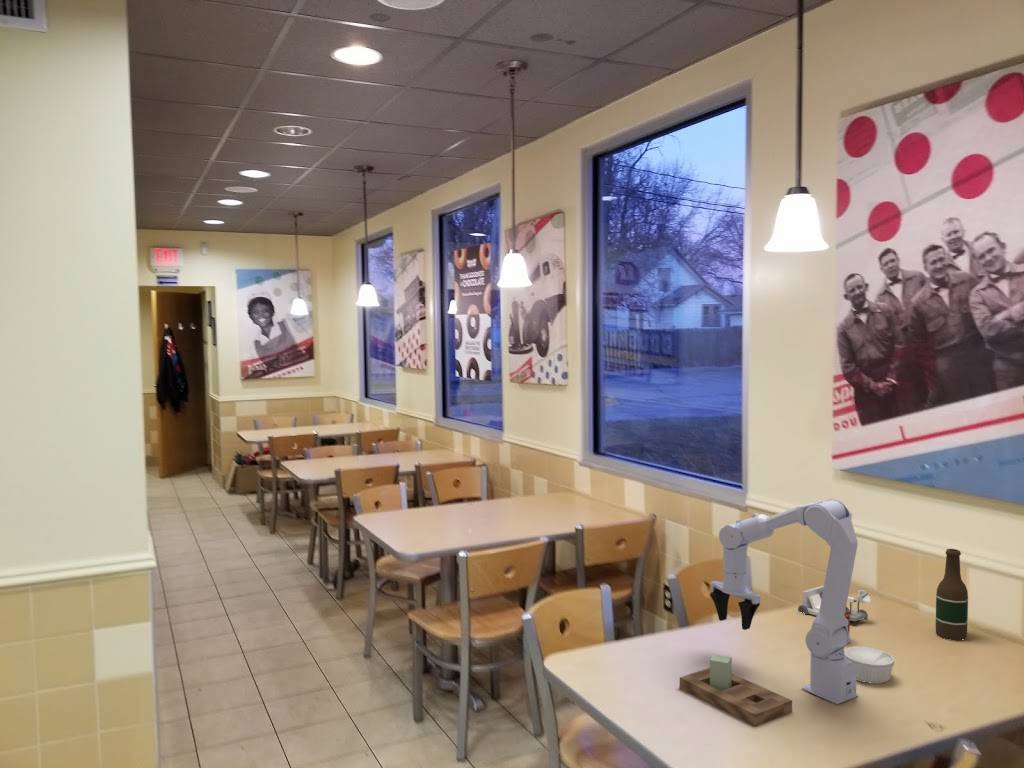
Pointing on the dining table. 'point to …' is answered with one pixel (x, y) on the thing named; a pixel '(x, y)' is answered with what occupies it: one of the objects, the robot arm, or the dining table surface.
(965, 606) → the beer bottle
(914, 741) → the dining table surface
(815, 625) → the robot arm
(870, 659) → the ramekin
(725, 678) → the peg
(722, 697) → the socket board
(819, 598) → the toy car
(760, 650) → the dining table surface
